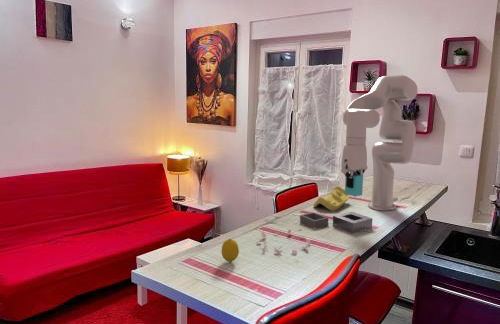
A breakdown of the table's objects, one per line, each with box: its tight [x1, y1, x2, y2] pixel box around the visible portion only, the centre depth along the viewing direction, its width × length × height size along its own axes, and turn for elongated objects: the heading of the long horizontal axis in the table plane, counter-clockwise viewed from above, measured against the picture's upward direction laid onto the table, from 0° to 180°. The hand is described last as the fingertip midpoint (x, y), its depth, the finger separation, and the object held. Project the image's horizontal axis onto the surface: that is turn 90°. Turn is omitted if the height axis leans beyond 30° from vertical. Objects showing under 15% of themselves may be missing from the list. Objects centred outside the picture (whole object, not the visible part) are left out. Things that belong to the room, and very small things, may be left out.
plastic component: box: [313, 185, 351, 212], centre depth 183 cm, size 20×8×10 cm
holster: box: [299, 211, 329, 229], centre depth 156 cm, size 8×9×3 cm
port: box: [332, 211, 373, 234], centre depth 152 cm, size 11×11×4 cm
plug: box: [344, 170, 364, 197], centre depth 149 cm, size 4×6×10 cm
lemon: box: [221, 238, 240, 263], centre depth 119 cm, size 6×6×8 cm
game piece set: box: [256, 227, 311, 255], centre depth 134 cm, size 19×20×4 cm
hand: (353, 186), depth 149 cm, fingers closed on plug, 4 cm apart
